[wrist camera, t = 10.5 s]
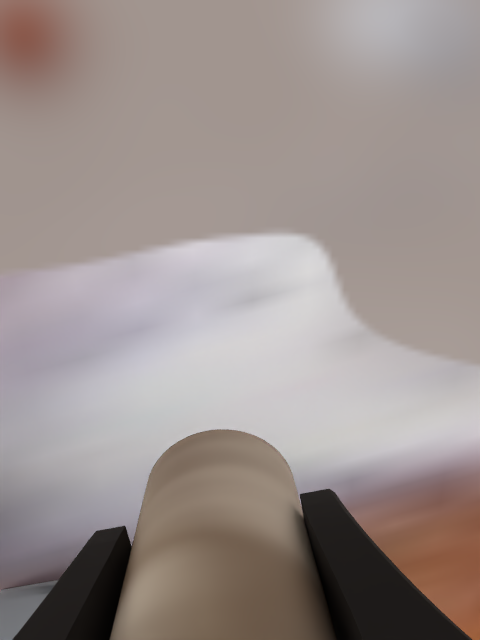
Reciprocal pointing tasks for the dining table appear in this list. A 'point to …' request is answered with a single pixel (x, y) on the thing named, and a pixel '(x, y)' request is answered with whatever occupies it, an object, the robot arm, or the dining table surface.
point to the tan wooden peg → (222, 549)
